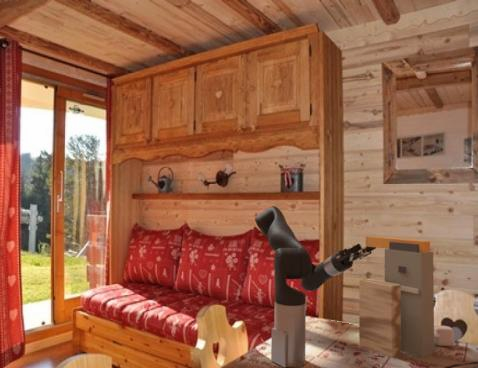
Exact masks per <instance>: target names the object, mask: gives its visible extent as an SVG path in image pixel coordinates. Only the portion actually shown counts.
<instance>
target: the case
mask: <svg viewBox="0 0 478 368" xmlns="http://www.w3.org/2000/svg"><path fill="white" fill-rule="evenodd" d="M384 282H388V283H393V284H398V285H401V352H404V353H407V354H409V355H412V356H415V357H418V358H421V359H423V358H426V357H429V356H431V355H434V354H435V343H434V326H435V310H434V309H435V307H434V306H435V305H434V303H435V302H434V301H435V300H434V299H435V297H434V295H435V294H434V293H435V292H434V291H435V289H434V286H435V285H434V252H433V251H430V252H428V253H421V252H419V244H408V243H398V242H389V249H385V248H384Z"/></svg>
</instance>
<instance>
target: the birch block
mask: <svg viewBox="0 0 478 368" xmlns="http://www.w3.org/2000/svg"><path fill="white" fill-rule="evenodd" d="M358 283H359V284H358V285H359V286H358V287H359V300H358V303H359V304H358V305H359V313H358V314H359V316H358V317H359V320H358V321H359V325H358V326H359V332H358V333H359V335H358V337H359V338H358V339H359V340H358V341H359V344H358V345H359V346H360V347H362V348H365V349H369V350H371V351H374V352H376V353H379V354H381V355H385V356H387V357H390V358H393V357H396V356H400V355H402V351H401V285H398V284H393V283H388V282H385V281H382V280H378V279H372V278H365V279H359V282H358Z"/></svg>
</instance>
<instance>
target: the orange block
mask: <svg viewBox="0 0 478 368" xmlns="http://www.w3.org/2000/svg"><path fill="white" fill-rule="evenodd" d="M389 242H398V243H408V244H419V252H421V253H428V252H431V241H430V240H418V239H408V238H397V237H387V236H386V237H385V236H374V235H373V236H372V235H371V236H365V247H367V246H368V247H376V249H377V248H378V249H384V250H385V249H389Z"/></svg>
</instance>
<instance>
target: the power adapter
mask: <svg viewBox="0 0 478 368" xmlns="http://www.w3.org/2000/svg"><path fill="white" fill-rule="evenodd" d="M435 344H436V346H439V347H454V345H455V330H454V328H452V327H450V326H447V325H434V345H435Z"/></svg>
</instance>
